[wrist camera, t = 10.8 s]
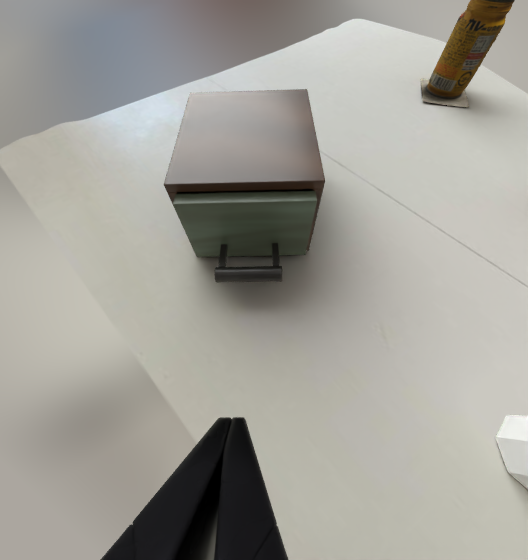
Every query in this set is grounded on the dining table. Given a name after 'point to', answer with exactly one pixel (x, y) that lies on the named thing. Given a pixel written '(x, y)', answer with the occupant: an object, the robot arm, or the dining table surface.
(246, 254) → the drawer
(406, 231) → the dining table surface
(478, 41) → the condiment
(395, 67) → the dining table surface
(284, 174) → the cabinet
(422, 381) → the dining table surface
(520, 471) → the salt shaker
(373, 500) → the dining table surface
